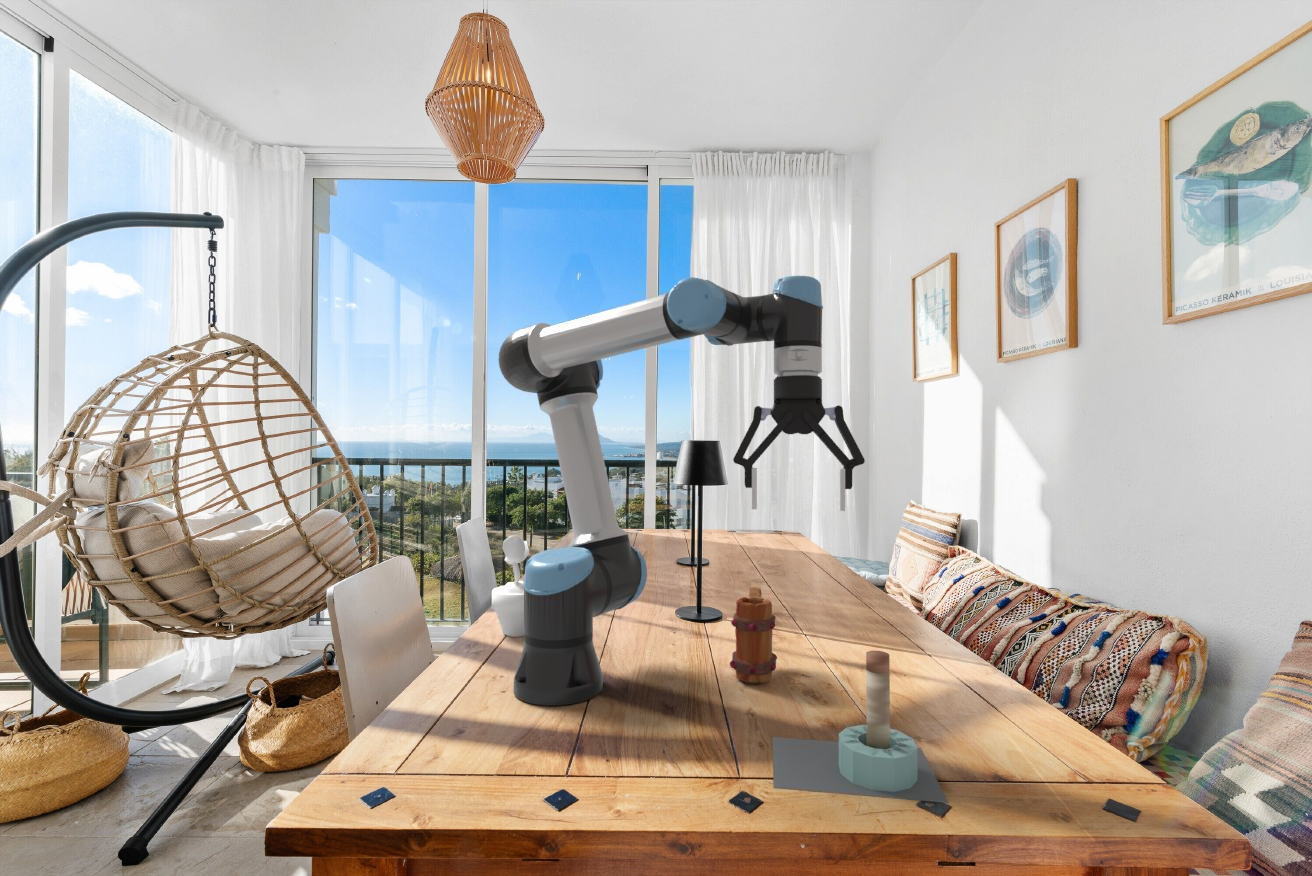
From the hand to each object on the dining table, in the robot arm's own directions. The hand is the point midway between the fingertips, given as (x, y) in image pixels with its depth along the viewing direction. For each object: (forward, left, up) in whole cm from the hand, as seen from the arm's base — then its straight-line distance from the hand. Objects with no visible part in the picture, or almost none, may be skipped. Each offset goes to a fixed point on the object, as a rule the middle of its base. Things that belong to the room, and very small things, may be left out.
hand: (797, 509), depth 106 cm
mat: (+6, -19, -32) cm, 37 cm away
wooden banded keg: (-7, +15, -32) cm, 36 cm away
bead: (+9, -20, -31) cm, 38 cm away
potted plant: (-59, +33, -32) cm, 75 cm away
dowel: (+9, -20, -31) cm, 38 cm away
